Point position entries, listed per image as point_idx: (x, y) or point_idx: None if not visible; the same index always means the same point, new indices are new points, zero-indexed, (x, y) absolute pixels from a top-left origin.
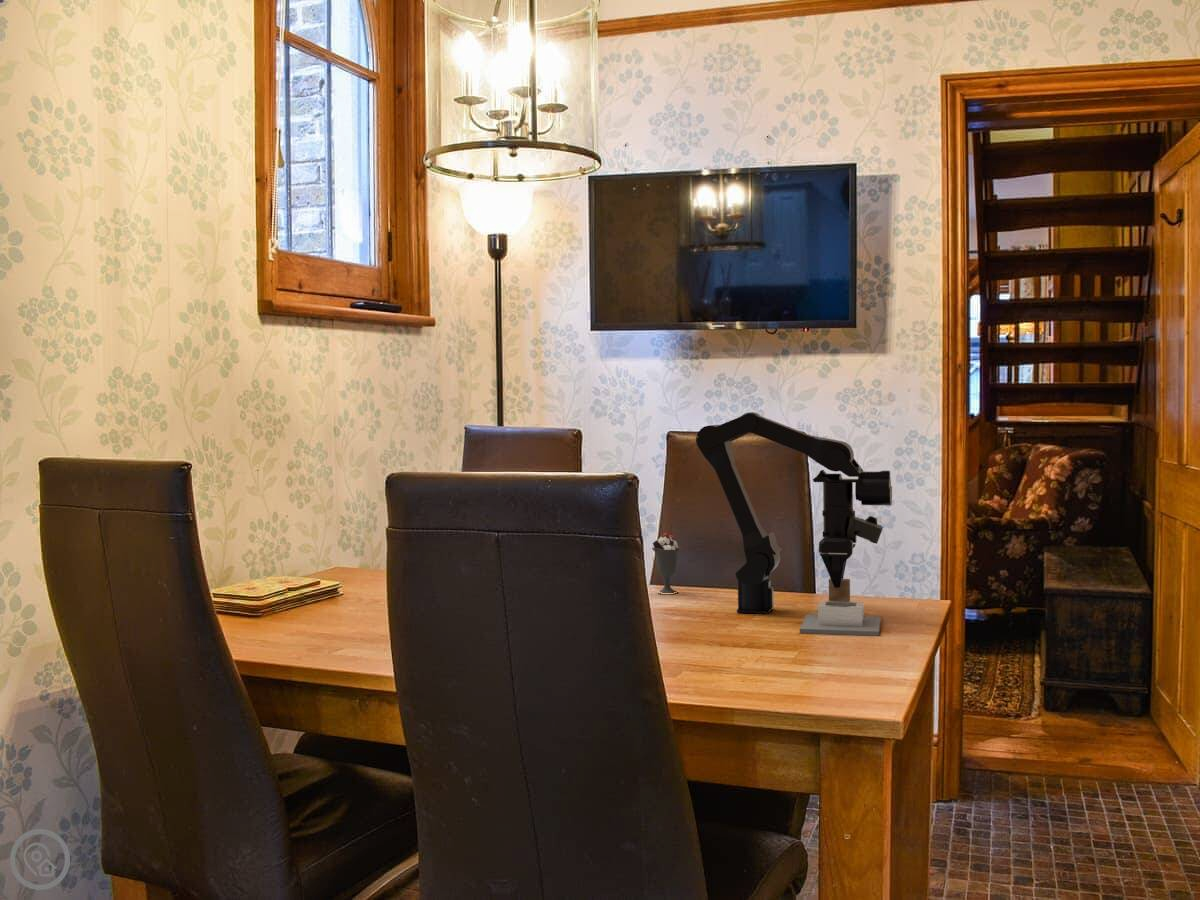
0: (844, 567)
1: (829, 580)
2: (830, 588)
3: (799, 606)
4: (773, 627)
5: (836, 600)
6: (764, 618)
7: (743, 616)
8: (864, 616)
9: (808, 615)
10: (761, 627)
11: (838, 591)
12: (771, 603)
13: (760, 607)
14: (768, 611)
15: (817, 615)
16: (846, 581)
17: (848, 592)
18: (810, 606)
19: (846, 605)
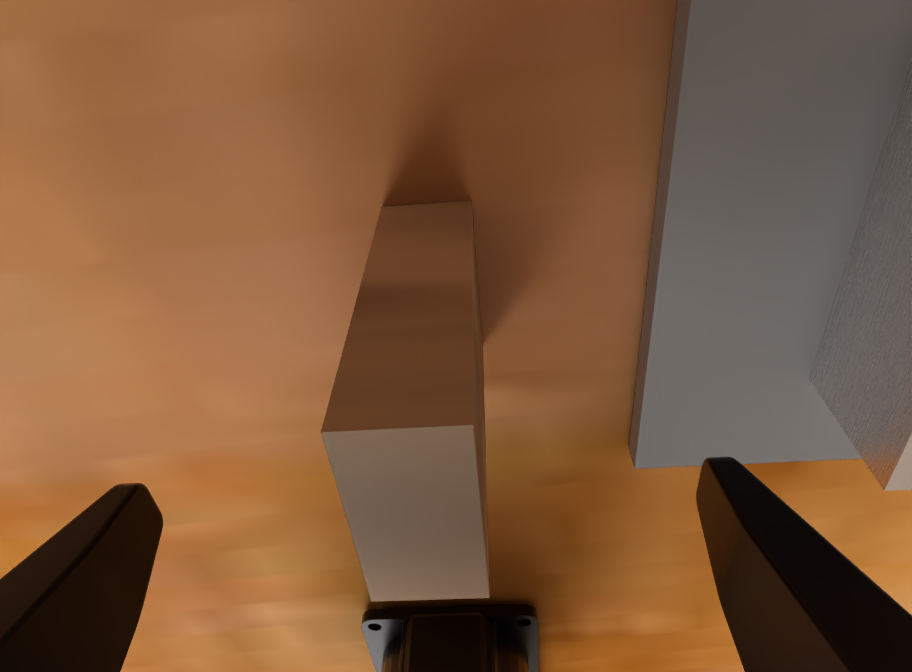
0: (37, 616)
1: (487, 587)
2: (486, 504)
3: (238, 519)
4: (909, 545)
5: (480, 375)
6: (647, 599)
7: (604, 659)
8: (711, 43)
9: (682, 455)
10: (899, 582)
11: (481, 422)
12: (483, 645)
13: (514, 655)
14: (529, 613)
15: (675, 410)
16: (475, 444)
17: (472, 330)
18: (206, 474)
19: None
